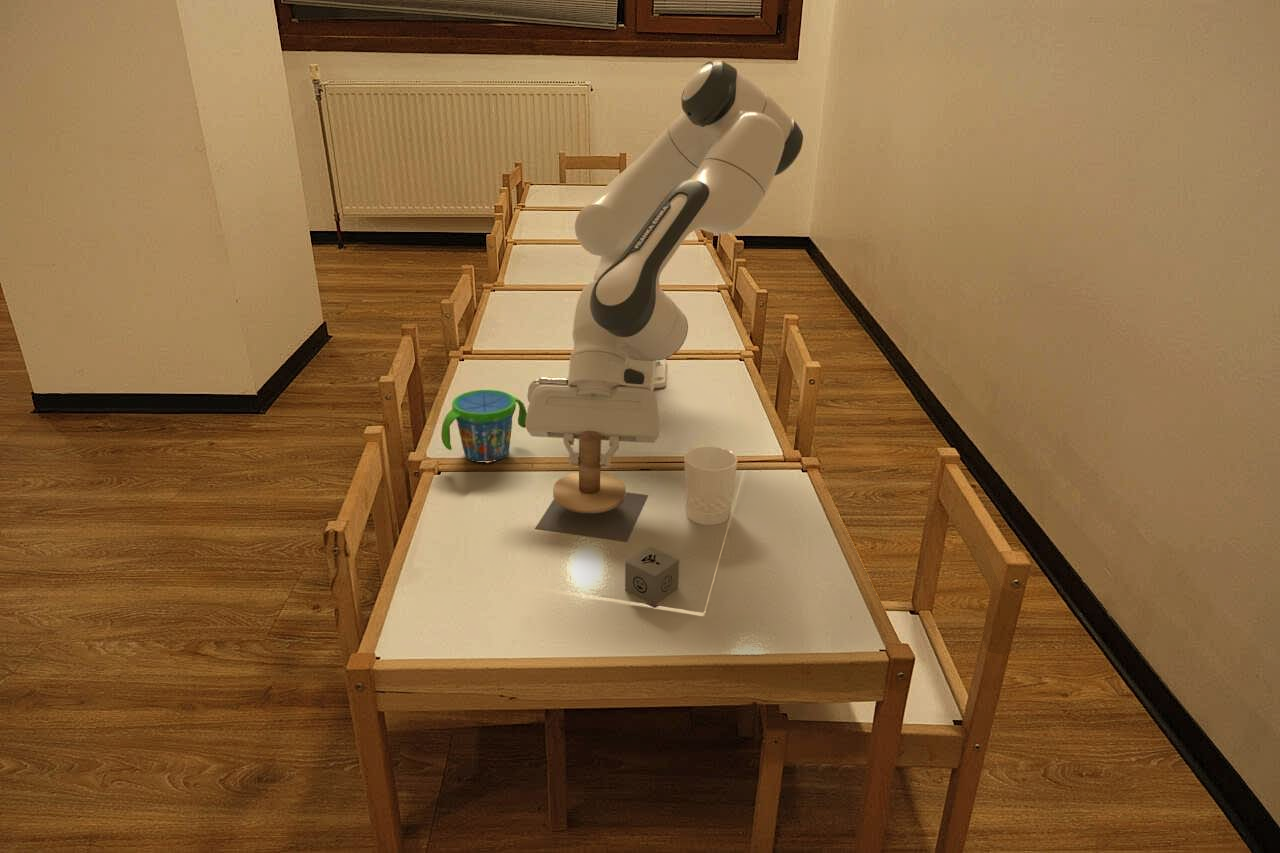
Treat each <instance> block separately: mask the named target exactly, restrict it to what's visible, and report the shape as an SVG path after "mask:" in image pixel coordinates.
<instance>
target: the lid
mask: <svg viewBox="0 0 1280 853" xmlns="http://www.w3.org/2000/svg"><path fill="white" fill-rule="evenodd" d="M601 446H602V440H601V434H600V433H598V432H596V431H584V432H582V433H580V434H579V439H578V453H579V467H578V471H577V472H573V473H569V474H566V475H564V476H562V477H561V478H559V479H558V480H557V481H556V482H555V483H554V484H553V487H552V493H553V495H552V497H553V500H555V502H556V503H557V504H558V505H560V506H561V507H563V508H565V509H567V510H570V511H573V512H578V513H601V512H606V511H609V510H612V509H614V508H616V507H618V506H619V505H621V504H622V503H623V501H624V500H625V496H626V492H627V488H626V485H625V484H624V482H623V481H622V480H621V479H619V477H617V476H614V475H612V474H609V473H605V472H601V468H600V454H602V453H601V452H602V450H601V448H602V447H601Z"/></svg>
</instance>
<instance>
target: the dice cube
mask: <svg viewBox="0 0 1280 853" xmlns="http://www.w3.org/2000/svg"><path fill="white" fill-rule="evenodd" d="M679 571H680V559H679V558H676V557H675V556H672V555H670V554H668V553H666V552H663V551H662V550H659V549H657V548H655V547H653V546H651V545H649V546H648V547H646V548H645V549H643V550H641V551H640V552H638V553H637V554H635V555H634V556H632V557H630V558H628V559H627V560H626V561H625V574H624V575H625V576H624V577H625V578H624V579H625V580H624V589H625V591H626V592H627V593H629V594H630V595H633V596H635V597H637V598H639V599H641V600H642V601H645V605H647V606H650V607H651V608H654V609H655V608H657V607H658V605H659V603H660V602H661V601H664V599H665V598H667V597H668V596H669V595H671V594H672V593H674V592H675V591H677V590H678V589H679Z"/></svg>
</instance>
